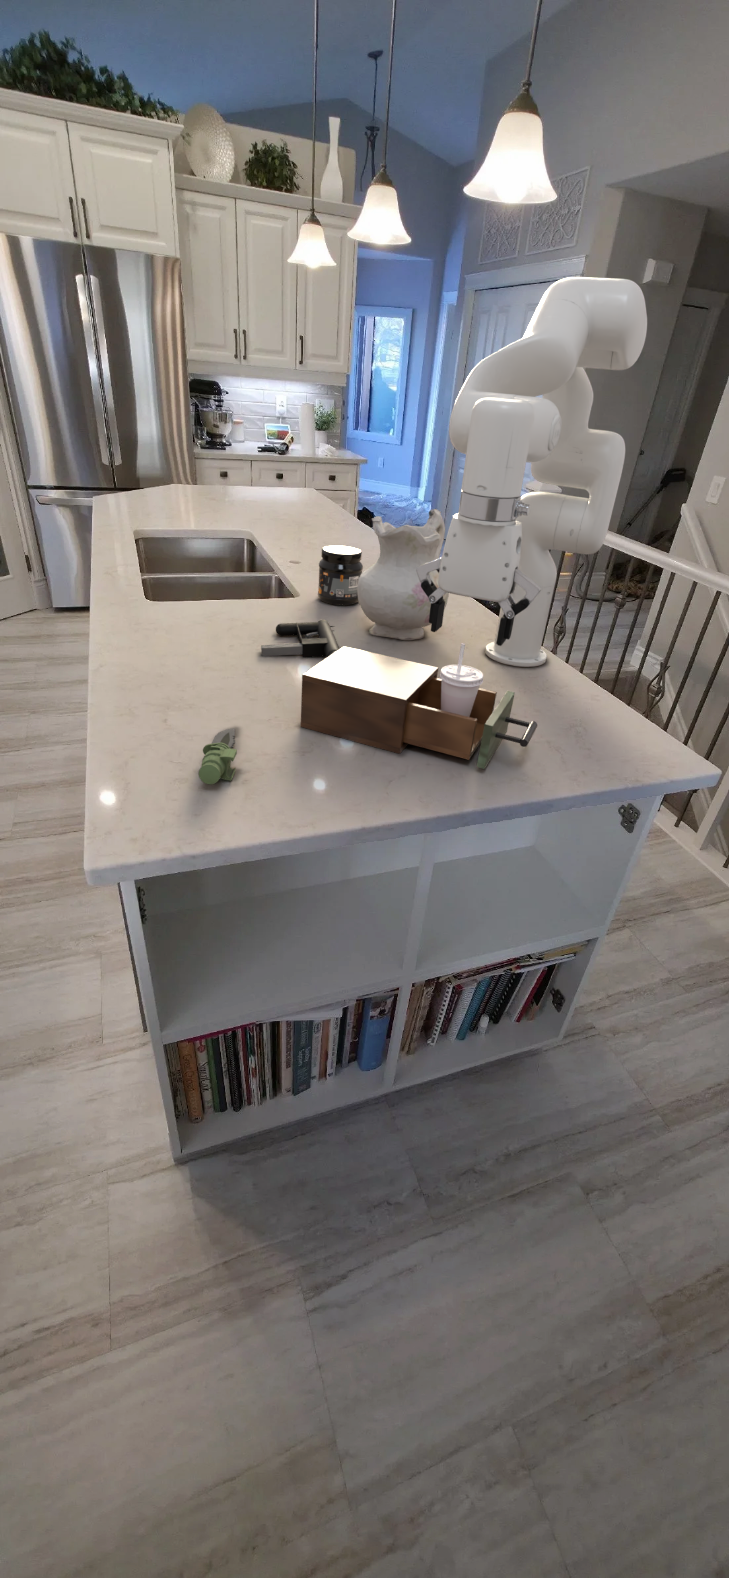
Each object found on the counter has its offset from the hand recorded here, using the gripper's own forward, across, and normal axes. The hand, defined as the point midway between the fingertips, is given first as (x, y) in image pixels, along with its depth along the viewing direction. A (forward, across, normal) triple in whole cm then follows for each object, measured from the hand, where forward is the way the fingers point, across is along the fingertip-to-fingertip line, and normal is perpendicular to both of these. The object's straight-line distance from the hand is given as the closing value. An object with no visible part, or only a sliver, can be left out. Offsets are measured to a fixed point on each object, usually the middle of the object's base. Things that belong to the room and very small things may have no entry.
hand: (468, 635), depth 96 cm
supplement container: (+18, +47, -57) cm, 76 cm away
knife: (+17, +27, +23) cm, 39 cm away
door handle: (+18, +39, -22) cm, 48 cm away
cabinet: (+17, +14, +1) cm, 22 cm away
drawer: (+16, -2, +1) cm, 16 cm away
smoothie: (+15, 0, +1) cm, 15 cm away
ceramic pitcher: (+18, +26, -45) cm, 55 cm away
